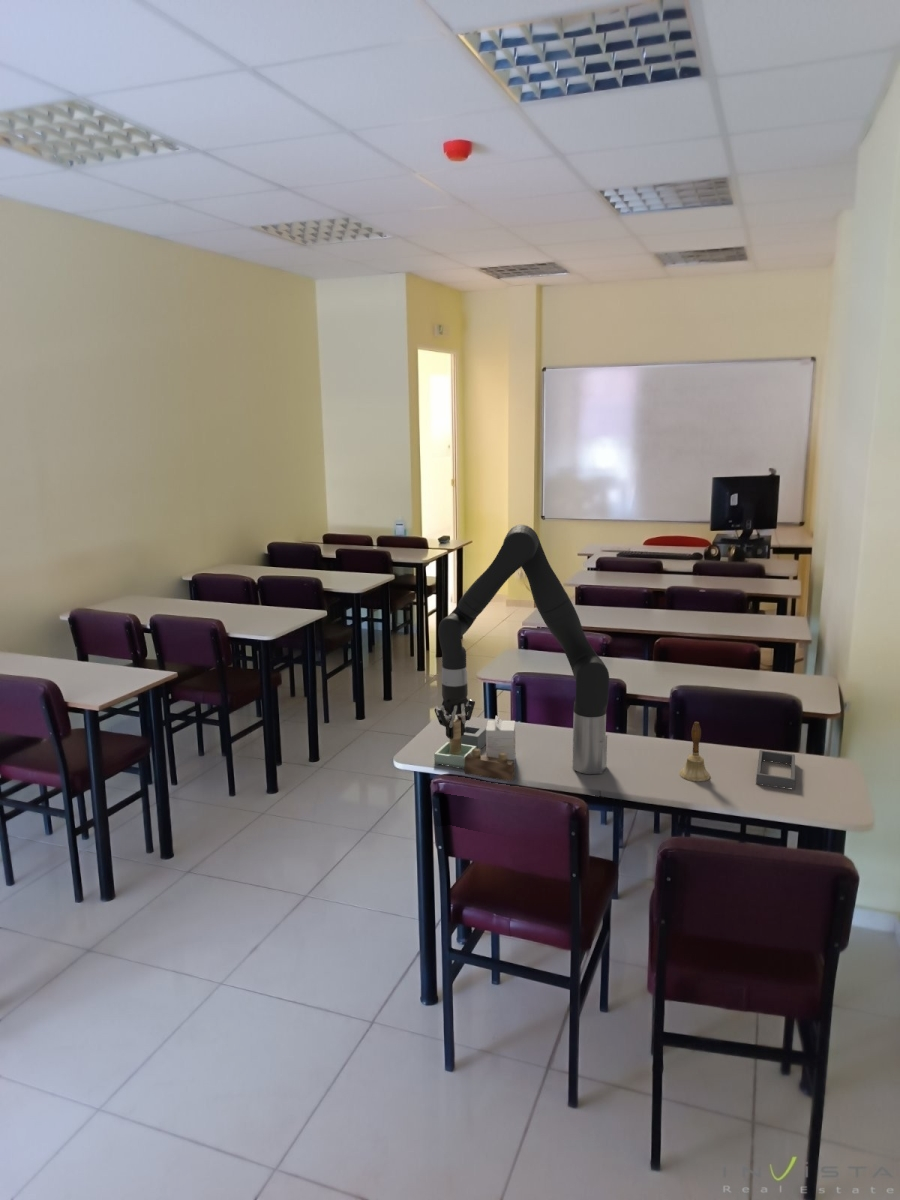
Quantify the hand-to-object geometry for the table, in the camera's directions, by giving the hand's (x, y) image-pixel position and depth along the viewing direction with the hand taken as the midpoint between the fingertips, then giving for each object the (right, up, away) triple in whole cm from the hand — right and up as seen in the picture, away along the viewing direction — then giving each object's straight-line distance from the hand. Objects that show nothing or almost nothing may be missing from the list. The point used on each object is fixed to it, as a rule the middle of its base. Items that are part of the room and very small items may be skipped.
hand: (455, 736), depth 236 cm
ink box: (+13, -8, 0) cm, 16 cm away
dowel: (0, -5, +1) cm, 5 cm away
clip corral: (+90, -9, -11) cm, 92 cm away
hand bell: (+68, -9, -11) cm, 69 cm away
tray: (0, -7, +2) cm, 8 cm away
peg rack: (+10, -10, -9) cm, 16 cm away
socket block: (+5, -5, +12) cm, 14 cm away
